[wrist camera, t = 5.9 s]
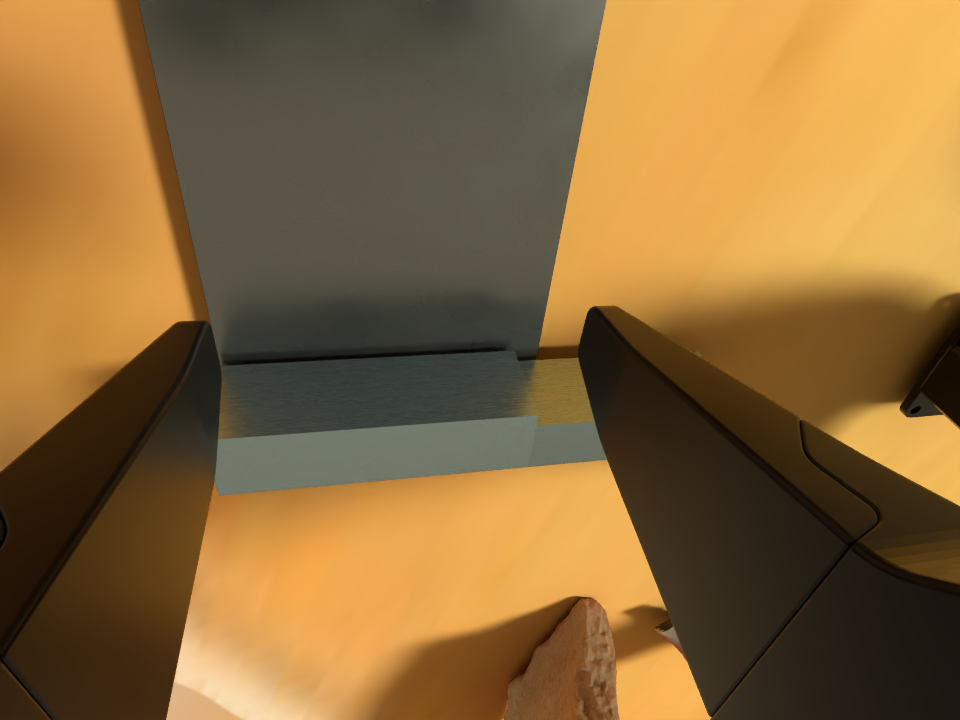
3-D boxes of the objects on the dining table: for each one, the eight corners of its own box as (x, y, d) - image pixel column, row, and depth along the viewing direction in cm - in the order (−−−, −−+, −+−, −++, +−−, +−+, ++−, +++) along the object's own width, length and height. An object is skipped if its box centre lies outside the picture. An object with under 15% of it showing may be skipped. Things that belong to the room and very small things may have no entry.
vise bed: (625, -149, 14) (635, -149, 14) (527, 374, 24) (530, 384, 24) (97, -216, 12) (88, -218, 12) (230, 392, 22) (229, 404, 22)
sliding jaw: (702, 341, 24) (747, 399, 21) (683, 389, 25) (722, 448, 23) (217, 366, 20) (203, 440, 18) (230, 420, 22) (219, 495, 19)
